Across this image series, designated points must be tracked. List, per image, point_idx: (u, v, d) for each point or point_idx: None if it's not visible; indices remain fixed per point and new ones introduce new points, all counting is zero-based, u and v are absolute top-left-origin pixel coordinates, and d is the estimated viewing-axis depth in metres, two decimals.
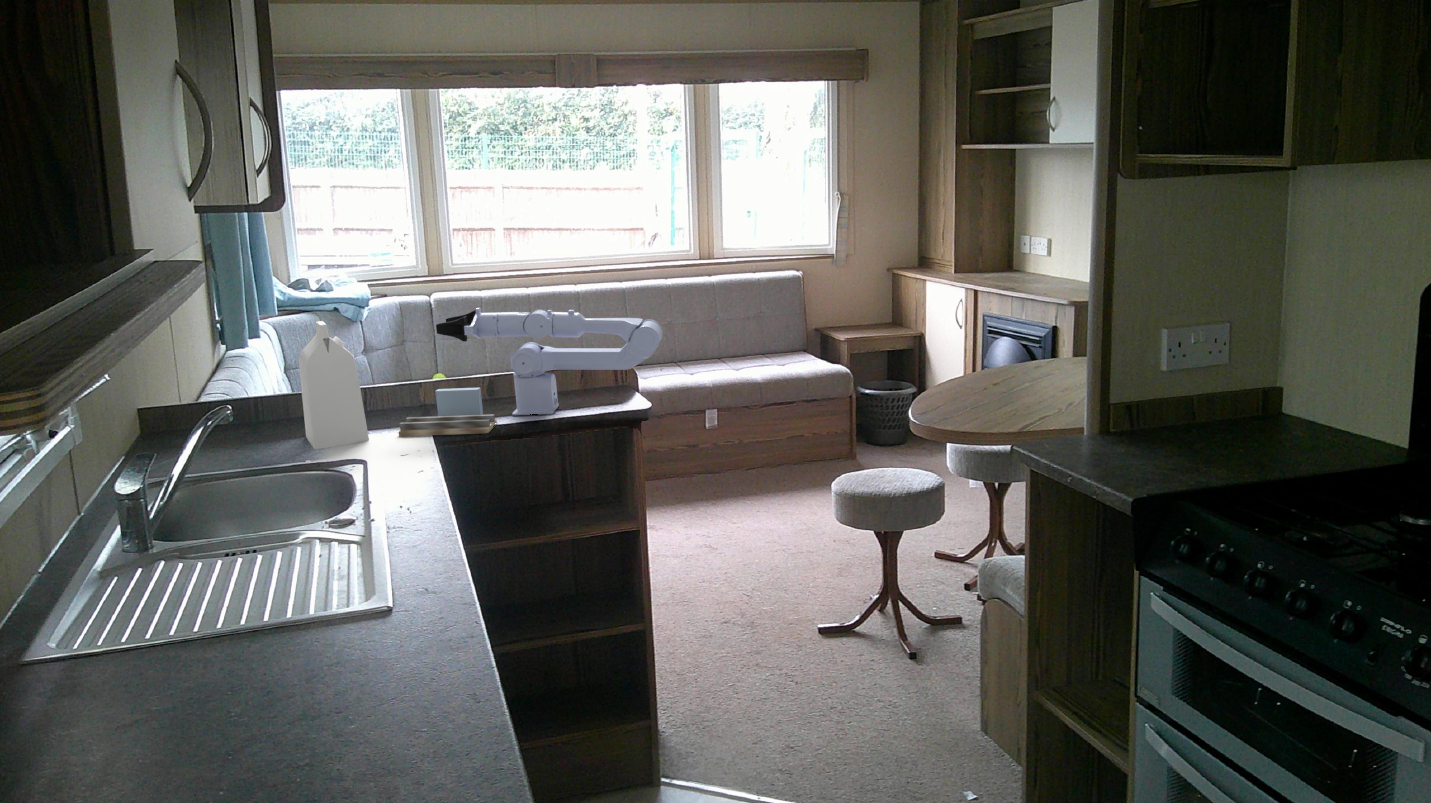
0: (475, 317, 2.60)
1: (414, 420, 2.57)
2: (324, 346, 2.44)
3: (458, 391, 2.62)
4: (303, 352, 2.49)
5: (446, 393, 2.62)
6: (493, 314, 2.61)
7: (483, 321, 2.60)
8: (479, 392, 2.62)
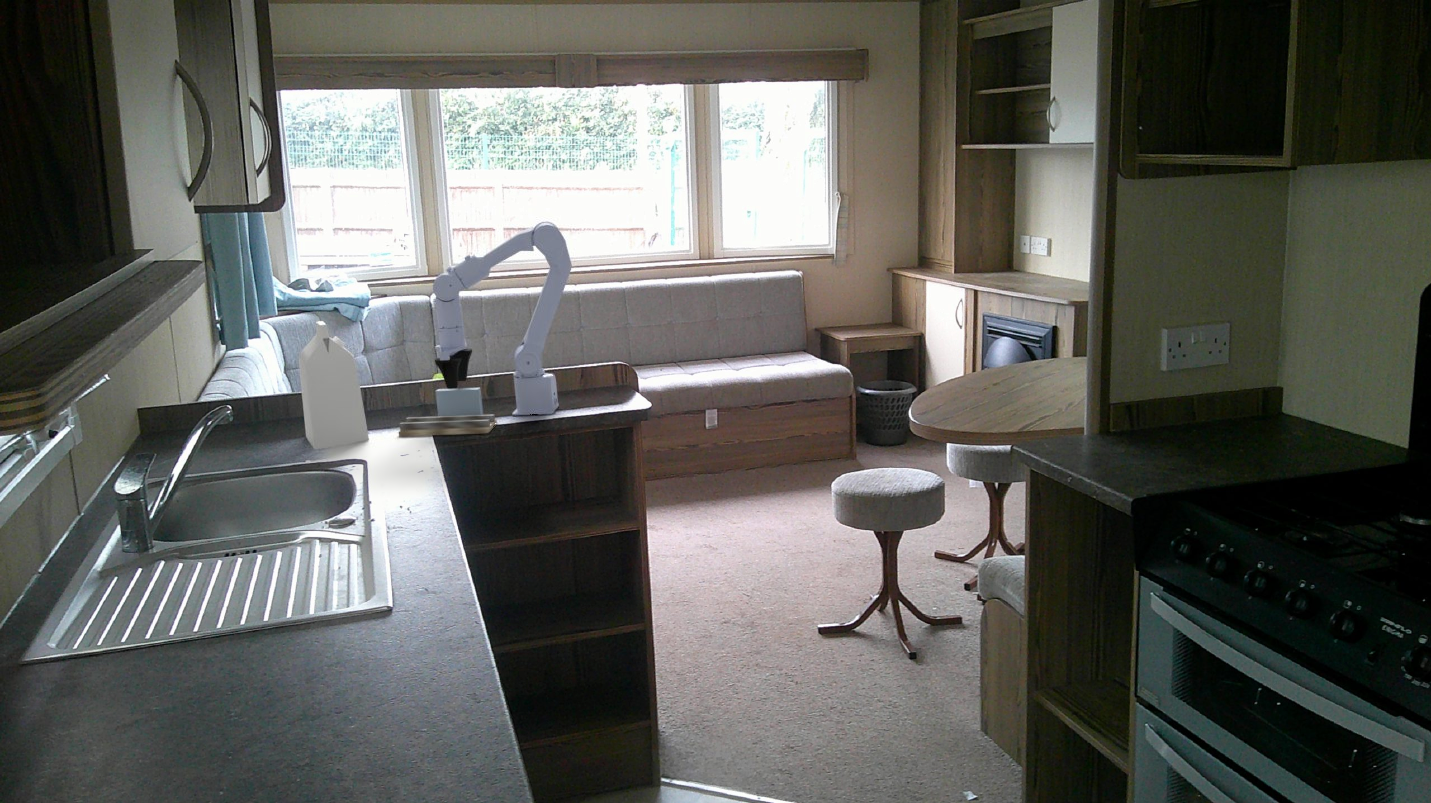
0: (439, 349, 2.58)
1: (414, 420, 2.57)
2: (324, 346, 2.44)
3: (458, 391, 2.62)
4: (303, 352, 2.49)
5: (446, 393, 2.62)
6: None
7: (443, 342, 2.58)
8: (479, 392, 2.62)
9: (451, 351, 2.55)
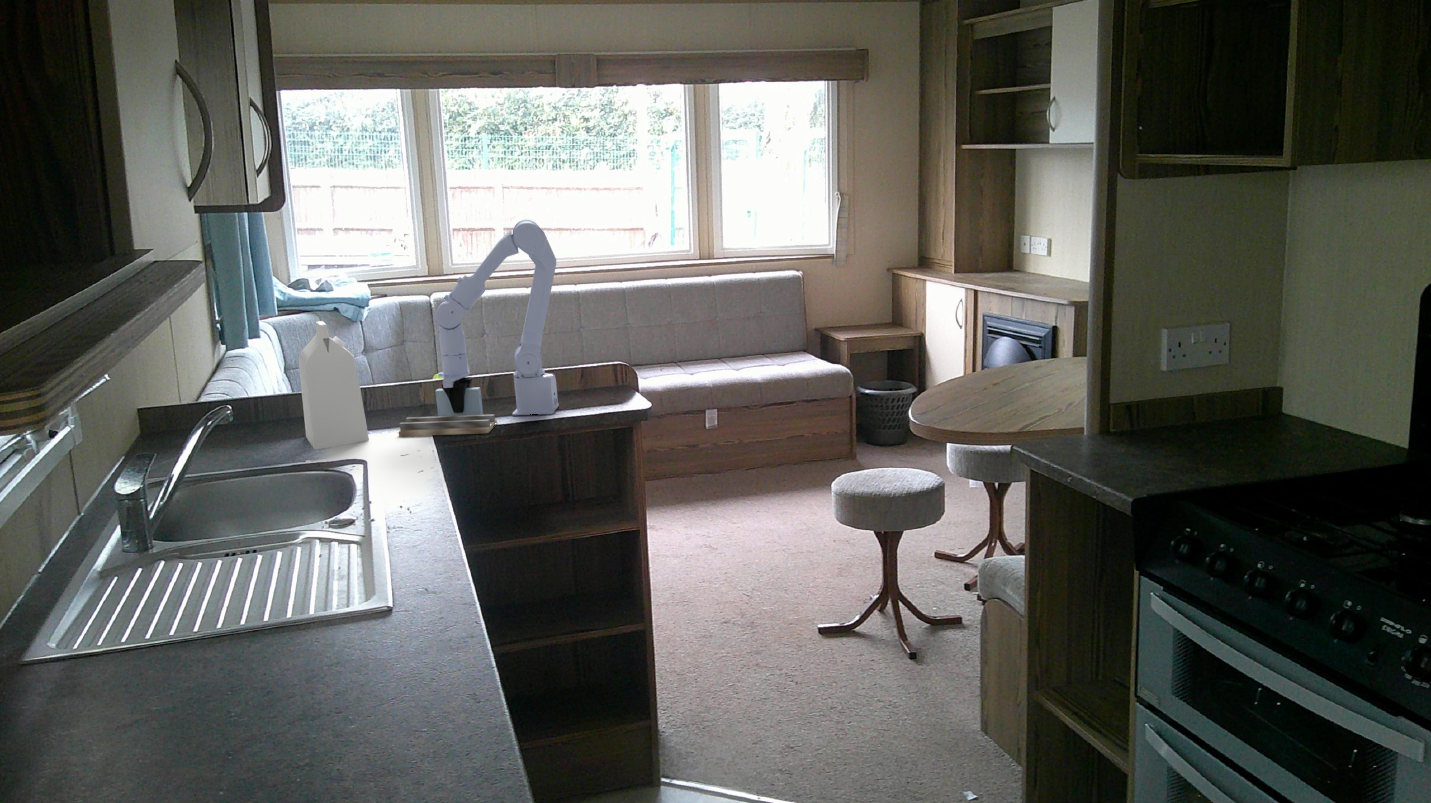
0: (443, 377, 2.60)
1: (414, 420, 2.57)
2: (324, 346, 2.44)
3: None
4: (303, 352, 2.49)
5: None
6: None
7: (446, 369, 2.59)
8: (479, 392, 2.62)
9: (454, 378, 2.57)
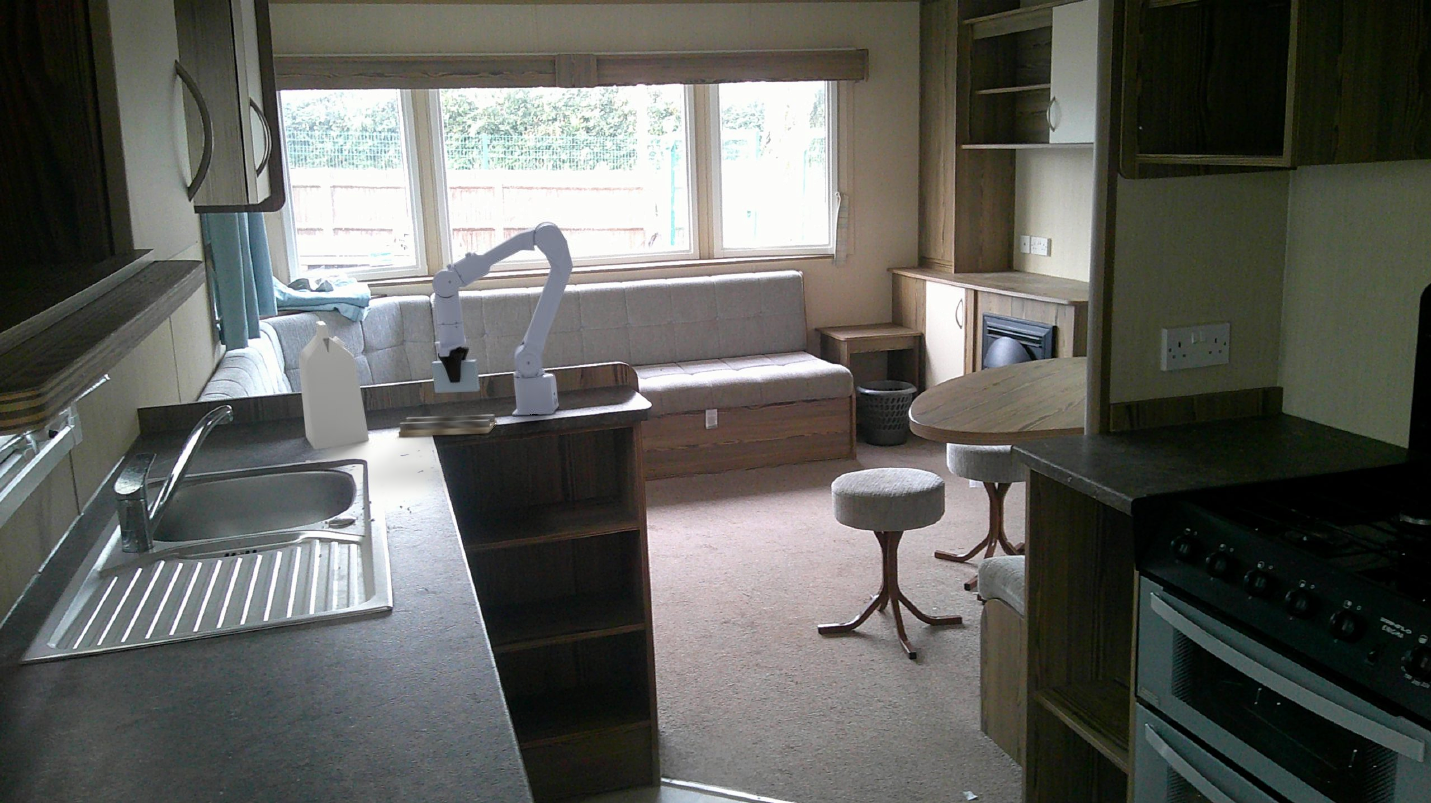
0: (439, 346, 2.58)
1: (414, 420, 2.57)
2: (324, 346, 2.44)
3: None
4: (303, 352, 2.49)
5: (442, 365, 2.61)
6: (438, 328, 2.58)
7: (442, 338, 2.57)
8: (475, 364, 2.61)
9: (450, 347, 2.55)
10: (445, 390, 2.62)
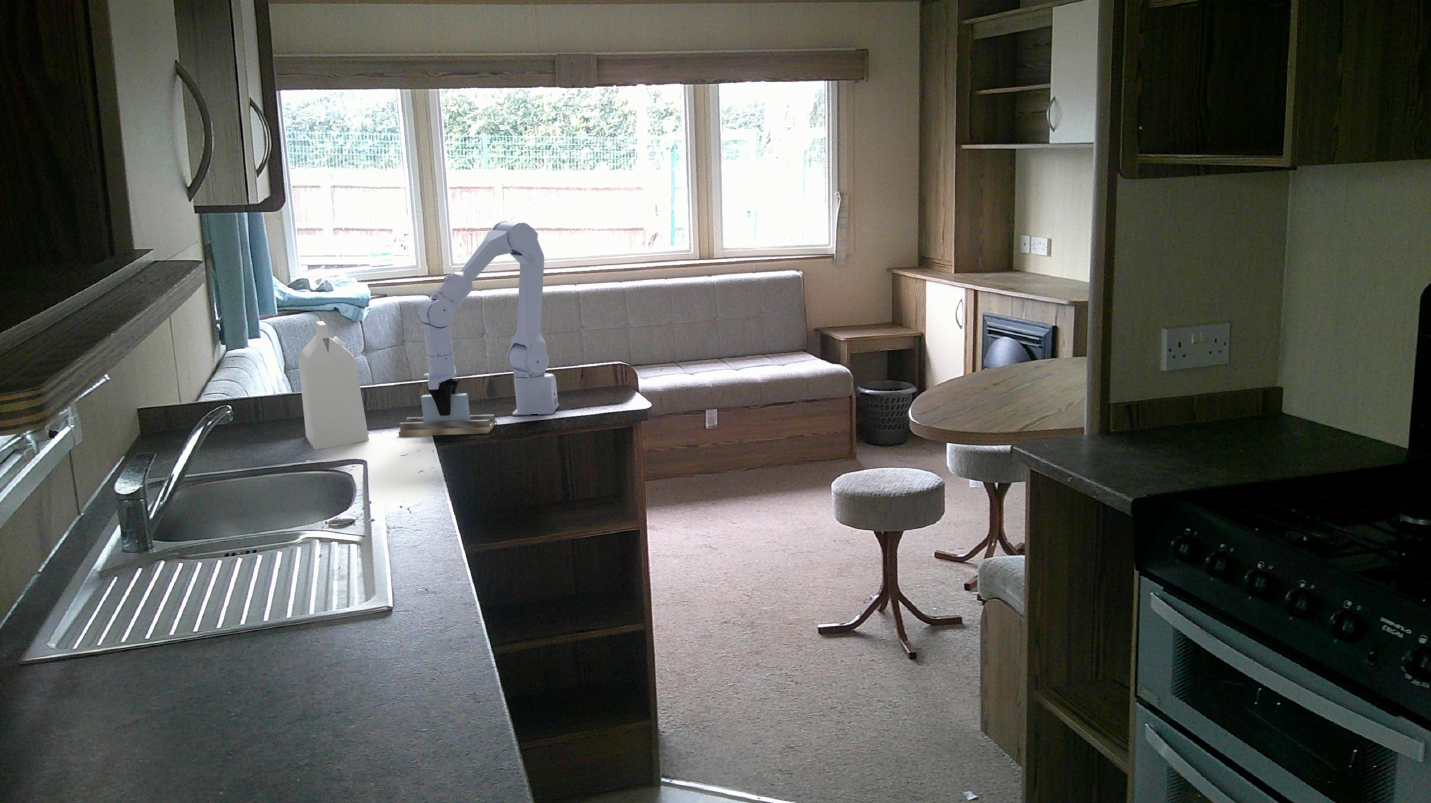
0: (428, 378, 2.50)
1: (414, 420, 2.57)
2: (324, 346, 2.44)
3: None
4: (303, 352, 2.49)
5: (432, 399, 2.52)
6: (427, 359, 2.50)
7: (432, 370, 2.49)
8: (466, 398, 2.52)
9: (440, 380, 2.47)
10: None
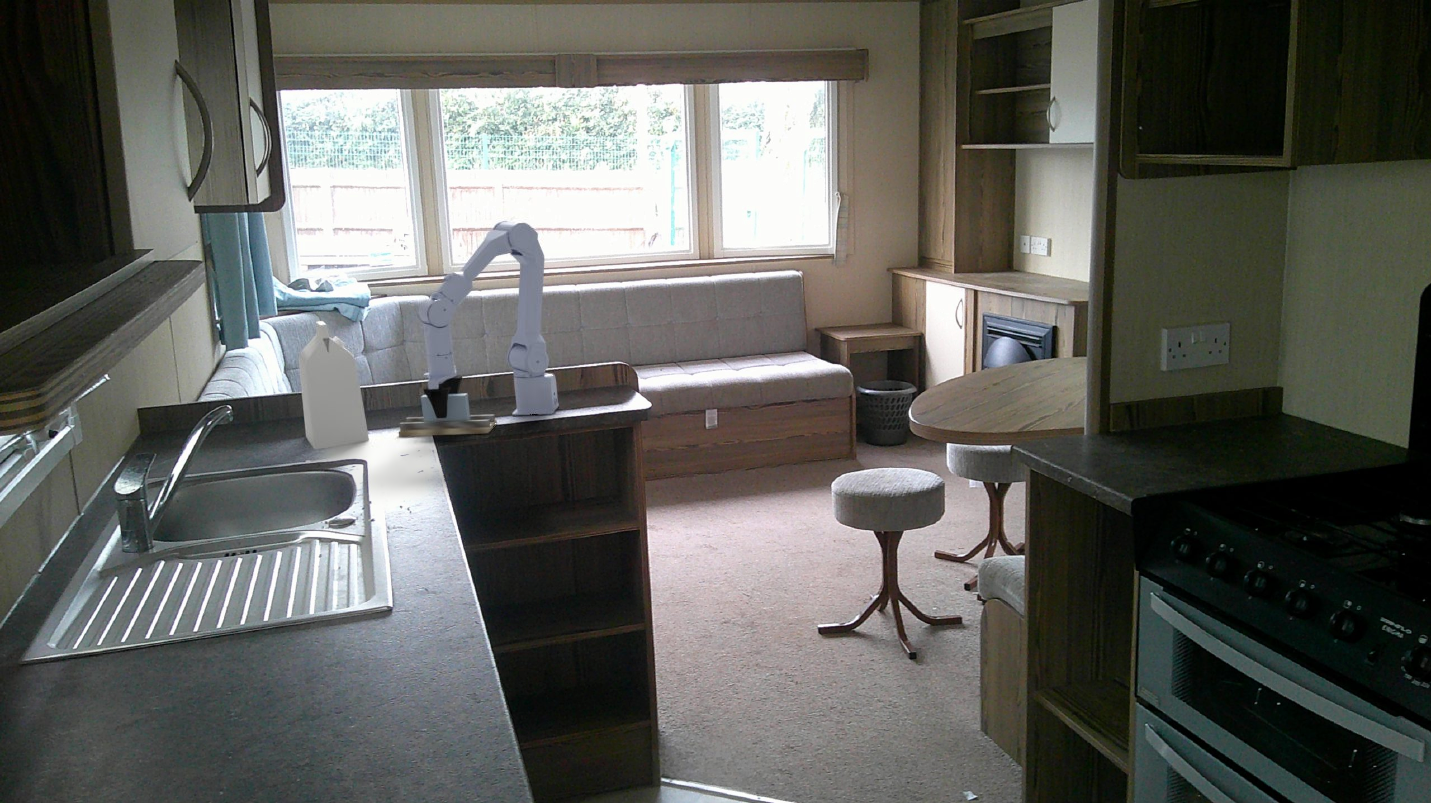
0: (428, 377, 2.50)
1: (414, 420, 2.57)
2: (324, 346, 2.44)
3: None
4: (303, 352, 2.49)
5: None
6: (427, 359, 2.50)
7: (432, 369, 2.49)
8: (466, 398, 2.52)
9: (440, 379, 2.47)
10: None
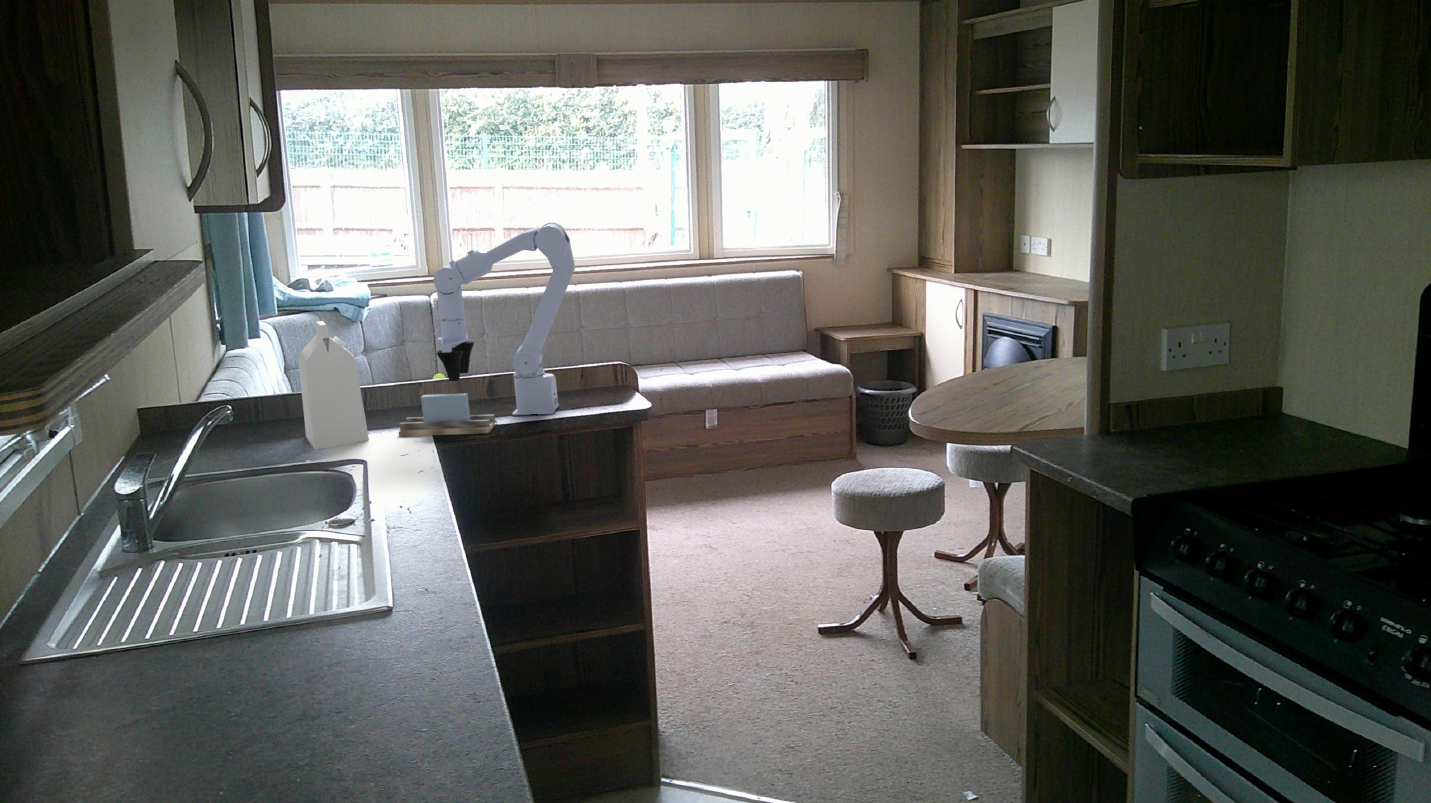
0: None
1: (414, 420, 2.57)
2: (324, 346, 2.44)
3: (444, 397, 2.52)
4: (303, 352, 2.49)
5: (432, 399, 2.52)
6: (440, 324, 2.60)
7: (445, 334, 2.59)
8: (466, 398, 2.52)
9: (453, 343, 2.57)
10: None
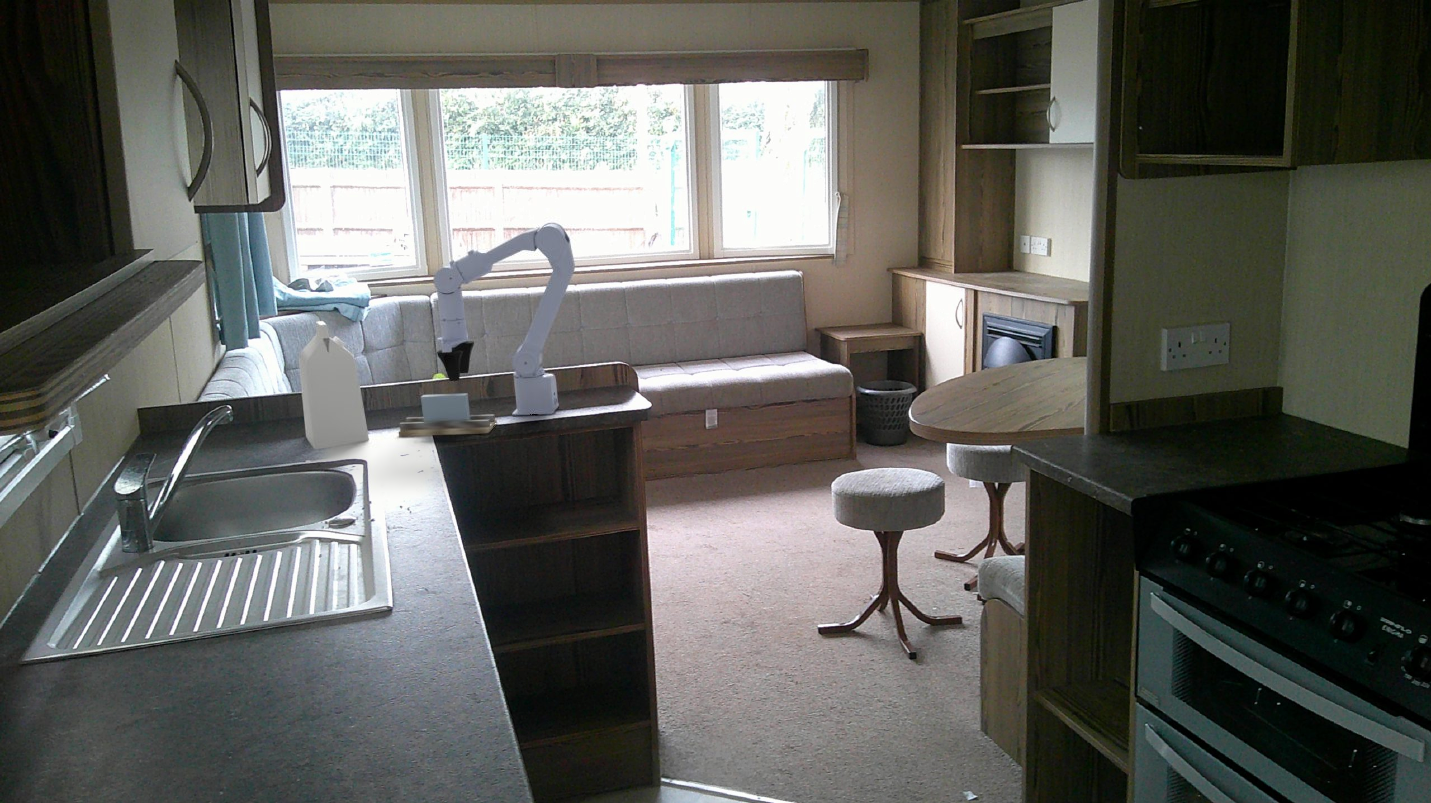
0: None
1: (414, 420, 2.57)
2: (324, 346, 2.44)
3: (444, 397, 2.52)
4: (303, 352, 2.49)
5: (432, 399, 2.52)
6: (440, 324, 2.60)
7: (445, 334, 2.59)
8: (466, 398, 2.52)
9: (453, 343, 2.57)
10: None
